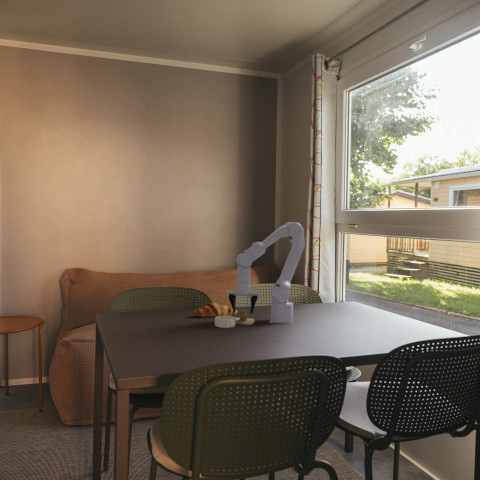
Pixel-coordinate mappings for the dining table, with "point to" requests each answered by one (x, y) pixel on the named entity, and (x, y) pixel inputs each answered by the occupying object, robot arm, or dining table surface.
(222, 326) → the bowl
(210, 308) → the croissant
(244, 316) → the lid
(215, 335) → the dining table surface
